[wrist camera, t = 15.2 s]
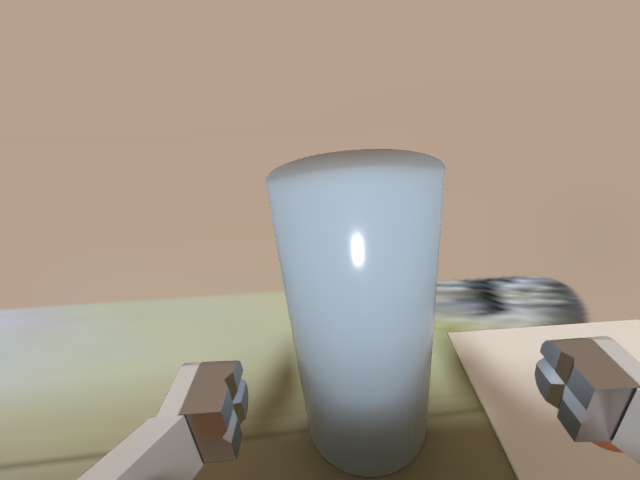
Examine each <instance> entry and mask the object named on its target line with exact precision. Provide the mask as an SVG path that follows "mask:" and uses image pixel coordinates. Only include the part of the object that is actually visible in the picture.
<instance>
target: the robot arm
mask: <svg viewBox="0 0 640 480" xmlns="http://www.w3.org/2000/svg"><path fill="white" fill-rule="evenodd" d="M540 353H541V354H542V355H543V357H544V358H543V359H542V360H540V361H539V362H538V363H537V364H536V369H535V373H534V374H535V380H536V385H537V387H538V389H539V391H540V393H541V395H542V396H543V398H544V399H545V401H546V402H548V403H549V404H551V405H553V406H554V407H556V408H557V418H558V419H559V421H560V422H561V424H562V425H563V426H564V428H565V429H566V431H567V432H568V434H569V435H570V436H571V438H572V439H573V441H574V442H607V441H612V444H613V445H614V446H616V447H617V448H618V449H620V450H621V451H622V452H624V453H625V454H627V455H628V456H629V457H631V458H632V459H633V460H635V461H636V462H637V463H639V464H640V362H639V361H638V360H636V359H635V358H634V357H633V356H632V355H631V354H630V353H629V352H627V351H626V350H625V349H624V348H623V347H622V346H621V345H620V344H618V343H617V342H616V341H615V340H614V339H612V338H610V337H608V336H598V337H586V338H571V339H558V340H546V341H545V342H544V343H543V344H542V346H541V349H540ZM242 372H243V369H242V366H241V362H240V361H215V362H200V363H184V364H183V365H182V366H181V367H180V369H179V371H178V373H177V375H176V377H175V379H174V381H173V383H172V385H171V387H170V389H169V391H168V393H167V396H166V398H165V400H164V402H163V404H162V406H161V408H160V410H159V412H158V414H157V416H156V417H150V418H149V419H148V420H147V421H145V422H144V423H143V424H142V425H141V426H140V427H138V428H137V429H136V430H135V431H134V432H132V433H131V434H130V435H129V436H128V437H127V438H125V439H124V440H123V441H122V442H121V443H120V444H118V445H117V446H116V447H115V448H114V449H112V450H111V451H110V452H109V453H108V454H107V455H105V456H104V457H103V458H102V459H101V460H99V461H98V462H97V463H96V464H95V465H94V466H92V467H91V468H90V469H89V470H88V471H87V472H85V473H84V474H83V475H82V476H81V477H79V478H78V479H77V480H192V479H193V478H194V477H195V476H196V474H197V473H198V472H199V470H200V469H201V468H202V466H203V463H210V462H222V461H234V460H237V455H238V451H239V446H240V442H241V437H242V432H241V429H240V424H241V423H242V422H243V421H244V420H245V419H246V414H247V409H248V388H247V384H246V382H245V381H244V380H243V379H241V376H242Z"/></svg>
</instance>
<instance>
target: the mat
mask: <svg viewBox="0 0 640 480" xmlns="http://www.w3.org/2000/svg"><path fill="white" fill-rule="evenodd" d="M598 336H608V337H610V338H612V339H614V340H615V341H616V342H617V343H618V344H620V345H621V346H622V347H623V348H624V349H625V350H626V351H627V352H629V353H630V354H631V355H632V356H633V357H634V358H635V359H636V360H638V361H639V362H640V319H639V320H625V321H610V322H597V323H582V324H567V325H553V326H539V327H525V328H510V329H496V330H482V331H467V332H453V333H448V337H449V339H450V341H451V343H452V345H453V347H454V349H455V351H456V353H457V355H458V357H459V359H460V361H461V363H462V365H463V368H464V370H465V372H466V374H467V376H468V378H469V380H470V382H471V384H472V386H473V388H474V390H475V392H476V394H477V396H478V398H479V400H480V402H481V405H482V407H483V409H484V411H485V413H486V415H487V417H488V419H489V421H490V423H491V425H492V427H493V429H494V431H495V433H496V435H497V437H498V439H499V442H500V444H501V446H502V448H503V450H504V452H505V454H506V456H507V458H508V460H509V462H510V464H511V466H512V468H513V470H514V472H515V474H516V476H517V479H518V480H640V464H639V463H637V462H636V461H635V460H633V459H632V458H631V457H629V456H628V455H627V454H625V453H624V452H622V451H621V450H620V449H618V448H617V447H616V446H614V445H613V444H612V441H607V442H574V441H573V439H572V438H571V436H570V435H569V434H568V432H567V431H566V429H565V428H564V426H563V425H562V424H561V422H560V421H559V419H558V418H557V408H556V407H554V406H553V405H551V404H549V403H548V402H546V401H545V399H544V398H543V396H542V395H541V393H540V391H539V389H538V387H537V385H536V380H535V374H534V373H535V369H536V364H537V363H538V362H539V361H540V360H542V359H543V358H544V357H543V355H542V354H541V353H540V349H541V346H542V344H543V343H544V342H545V341H546V340H558V339H571V338H586V337H598Z"/></svg>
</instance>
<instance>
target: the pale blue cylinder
mask: <svg viewBox="0 0 640 480" xmlns="http://www.w3.org/2000/svg"><path fill="white" fill-rule="evenodd" d="M444 174H445V165H444V163H443V162H442V161H440V160H439V159H437V158H435V157H433V156H430V155H426V154H423V153H419V152H412V151H405V150H393V149H362V150H348V151H339V152H332V153H325V154H319V155H314V156H310V157H306V158H302V159H298V160H295V161H292V162H289V163H287V164H284V165H282V166H280V167H278V168H276V169H274V170H273V171H272V172H270V173H269V174H268V176H267V177H266V185H267V191H268V197H269V203H270V208H271V214H272V220H273V226H274V231H275V237H276V243H277V249H278V254H279V260H280V266H281V271H282V277H283V283H284V289H285V294H286V300H287V306H288V312H289V317H290V323H291V329H292V335H293V340H294V346H295V352H296V357H297V363H298V369H299V375H300V380H301V386H302V392H303V398H304V403H305V409H306V415H307V421H308V426H309V432H310V435H311V438H312V441H313V443H314V445H315V447H316V448H317V450H318V451H319V452H320V454H321V455H322V456H323V457H324V458H325V459H326V460H327V461H328V462H329V463H331V464H332V465H333V466H335V467H336V468H338V469H340V470H342V471H344V472H346V473H349V474H352V475H356V476H362V477H379V476H385V475H389V474H392V473H394V472H397V471H399V470H401V469H402V468H404V467H405V466H407V465H408V464H409V463H410V462H411V461H412V460H413V459H414V458H415V457H416V456H417V454H418V453H419V451H420V450H421V448H422V446H423V443H424V441H425V436H426V431H427V416H428V402H429V388H430V374H431V360H432V345H433V331H434V317H435V303H436V289H437V275H438V260H439V245H440V232H441V231H440V230H441V217H442V203H443V190H444Z"/></svg>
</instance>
